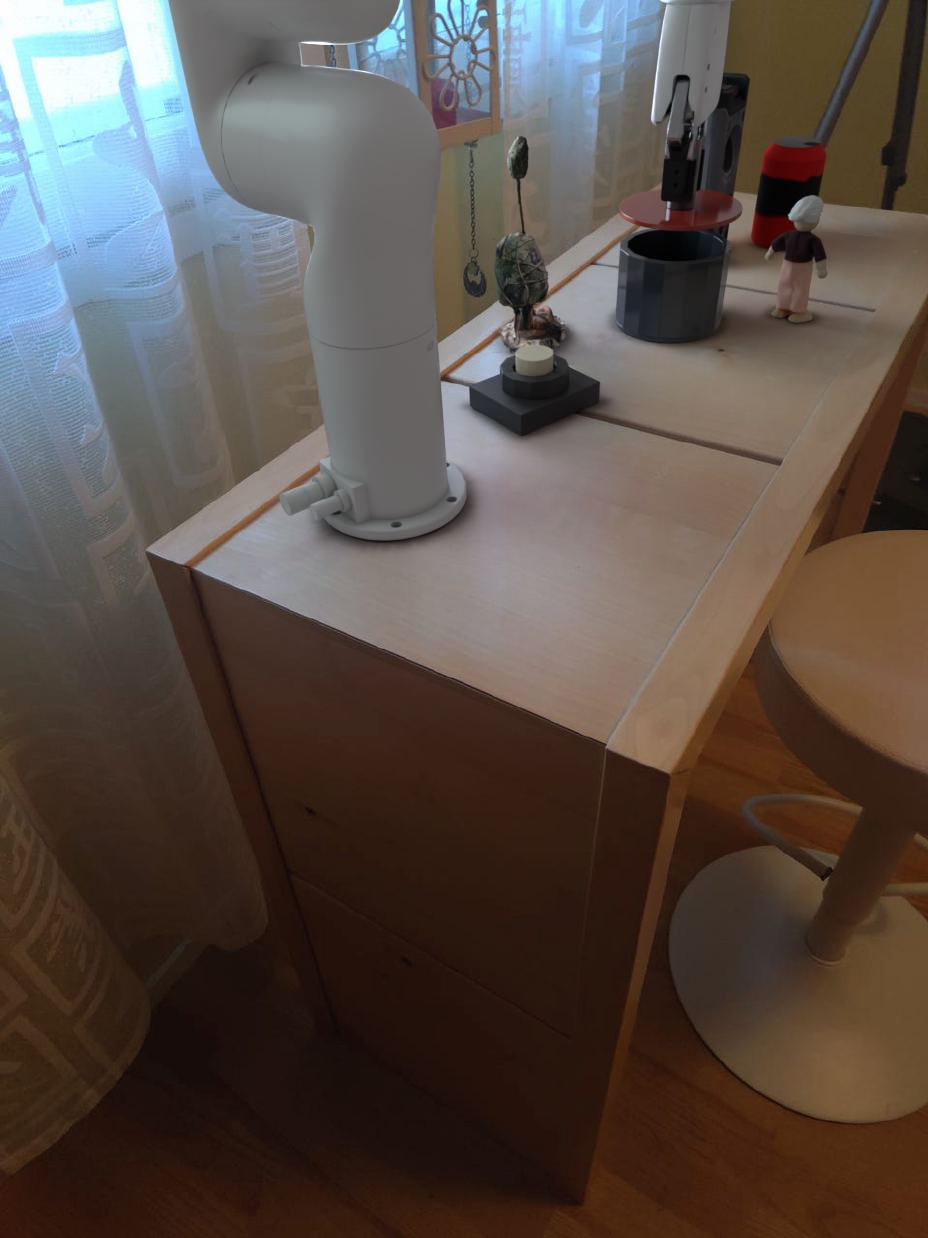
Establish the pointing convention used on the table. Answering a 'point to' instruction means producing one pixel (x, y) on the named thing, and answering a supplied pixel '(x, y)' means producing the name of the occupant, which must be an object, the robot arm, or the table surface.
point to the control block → (533, 395)
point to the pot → (671, 284)
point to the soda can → (786, 184)
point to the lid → (682, 207)
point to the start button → (534, 360)
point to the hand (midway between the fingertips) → (680, 193)
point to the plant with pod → (524, 276)
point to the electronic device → (725, 139)
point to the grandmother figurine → (799, 260)
